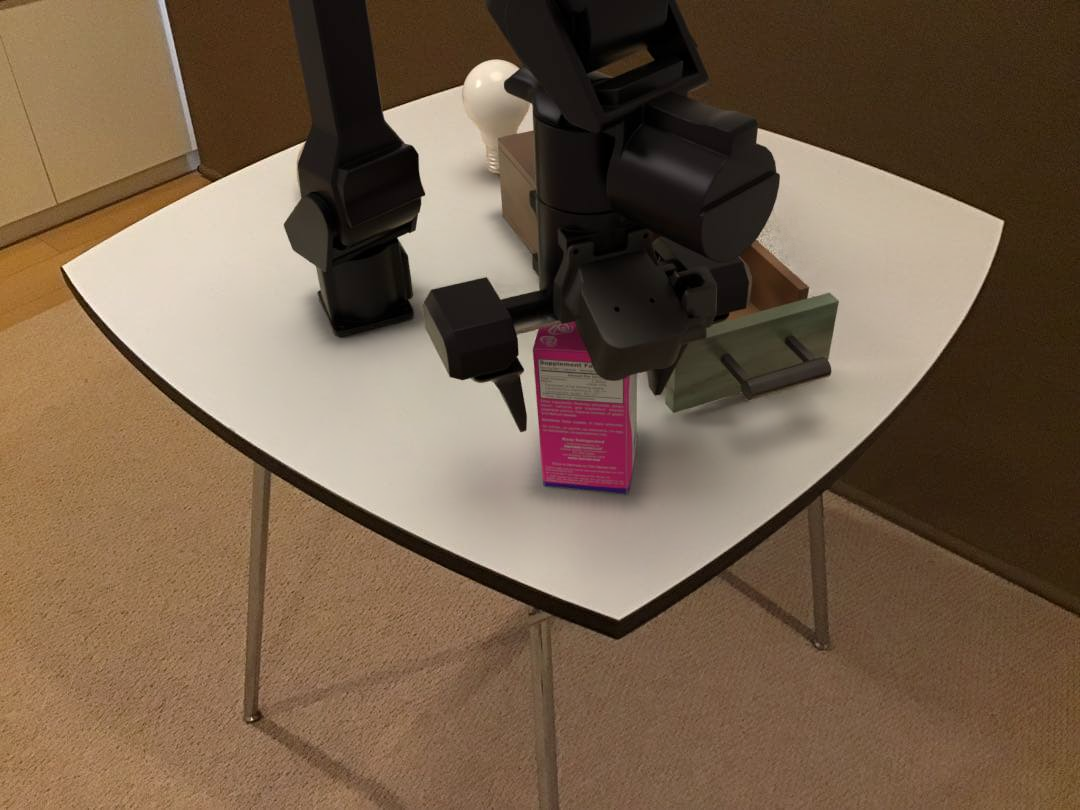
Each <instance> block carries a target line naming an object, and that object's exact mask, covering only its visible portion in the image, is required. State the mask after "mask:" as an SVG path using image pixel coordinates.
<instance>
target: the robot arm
mask: <svg viewBox="0 0 1080 810" xmlns="http://www.w3.org/2000/svg"><path fill="white" fill-rule="evenodd" d="M287 1H288V6H289V12H290V17H291V21H292V27H293V31H294V32H293V33H294V36H295V41H296V46H297V52H298V57H299V63H300V67H301V72H302V73H301V74H302V77H303V83H304V87H305V88H304V89H305V92H306V98H307V103H308V109H309V113H310V118H311V119H310V120H311V125H310V128H309V132H308V134H307V137H306V139H305V141H304V143H305V145H304V148H303V150H302V153H301V156H300V158H299V161H298V175H299V183H298V185H299V184H300V187H299V192H300V200H299V201H298V202H297V204H296V205H295V207H294V208H293V210H292V211H291V212H290V214H289V215H288V217H286V218H287V219H286V220H285V221H284V222H283V228H284V231H285V233H286V234H285V235H286V237H287V238H288V241H289V245H290V247H291V249H292V251H293V252H294V253H296V254H297V255H299V256H300V257H302V258H304V259H305V260H306V261H308V262H309V263H311V264H312V265H313V266H315V268H316V269H315V270H316V274H317V279H318V284H319V288H320V290H318V291H317V297H318V298H317V299H318V300H319V302H320V305H321V307H322V309H323V311H324V314H325V317H326V318H327V322H328V324H329V325H330V328H331V330H332V332H333V335H334V336H336V337H343V336H347V335H351V334H355V333H359V332H362V331H367V330H370V329H374V328H375V329H376V328H378V327H383V326H387V325H391V324H395V323H399V322H402V321H408V320H410V319H413V318H414V317H415V310H414V308H413V306H412V304H411V303H410V301H409V300H412V299H413V297H414V291H413V282H412V275H411V267H410V261H409V254H408V253H407V251H406V250H405V248H404V246H403V244H402V243H401V241H400V239H399V238H400V237H402V236H404V235H407V234H412V233H414V232H415V231H416V230H417V224H418V217H419V213H420V212H421V207H422V197H425V196H426V191H425V189H424V186H423V183H422V178H421V175H420V156H419V155H420V154H419V152H418V151H417V149H416V148H415V146H413V145H412V144H407V143H405V141H404V140H403V139H402V138H401V137H400V135H398V133H397V132H396V131H395V130H394V129H393V128H392V127H391V126H390V124H389V123H388V122H387V121H386V120H385V115H384V111H383V110H384V109H383V103H382V96H381V90H380V83H379V78H378V77H379V76H378V70H377V64H376V58H375V51H374V44H373V38H372V37H373V36H372V29H371V24H370V18H369V10H368V9H369V8H368V3H367V0H287ZM485 6H486V10H487V12H488V13H489V14H490V16H491V18H492V19H493V21H494V23H495V24H496V26H497V27H498V29H499V30H500V32H501V33H502V35H503V36H504V38H505V39H506V41H507V42H508V44H509V46H510V47H511V49H512V51H513V52H514V53H515V55H516V57H517V59H519V61H520V62H521V63H522V66H520V67H519V70H517V71H516V72H515V73H514V74H512V75H511V76H510V77H509V78H508V79H506V80H505V81H504V89H505V91H506V92H507V93H509V94H511V95H513V96H516V97H518V98H520V99H523V100H525V101H527V102H529V103H530V105H531V107H532V131H533V135H534V161H535V186H536V190H531V191H529V196H530V207H531V209H532V210H533V211H534V213H535V214H536V215H537V239H538V253H533V254H532V253H531V261H532V270H533V271H534V272H535V274H536V275H537V277H538V285H539V289H538V290H535V291H529V292H525V293H522V294H518V295H514V296H509V297H505V298H500V296H499V294H498V292H497V291H496V289H495V288H494V287H493V284H492V282H490V279H489V277H487V276H485V277H480V278H476V279H471V280H468V281H462V282H458V283H453V284H450V285H446V286H441V287H436V288H433V289H430V291H429V293H428V294H427V296H426V298H425V300H424V301H423V302H422V305H421V306H422V315H423V322H424V323H423V324H424V329H425V331H426V332H427V334H428V336H429V338H430V340H431V343H432V344H433V345H432V346H434V348H435V350H436V352H437V354H438V357H439V358H440V360H441V361H440V362H442V365H443V366H444V369H445V370H446V372H447V374H448V376H449V378H452V379H456V380H460V381H466V380H470V379H471V380H472V381H474V383H477V384H484V383H488V382H492V383H493V384H494V385H495V386H496V388H497V390H498V391H499V393H500V395H501V397H502V399H503V401H504V403H505V405H506V407H507V409H508V411H509V413H510V415H511V417H512V419H513V421H514V424H515V425H516V427H517V429H518V431H519V432H520V433H523V432H526V431H527V429H528V427H527V425H528V414H527V413H528V412H527V408H526V407H527V406H526V402H525V397H524V391H523V383H522V380H521V376H522V374H523V373H524V372H525V368H524V366H523V365H522V363H521V361H520V359H519V358H518V357H519V355H520V354H519V352H520V351H519V339H518V335H520V334H521V335H522V334H525V333H529V332H533V331H538V329H542V328H546V327H550V326H554V325H558V324H565V323H569V322H573V321H575V325H576V328H577V330H578V332H579V334H580V336H581V339H582V341H583V343H584V345H585V347H586V350H587V352H588V354H589V356H590V359H591V363H592V366H593V368H594V370H595V372H596V373H597V374H598V375H599V376H600V377H601V378H603V379H605V380H609V381H617V380H622V379H625V378H626V377H628V376H630V375H633V374H637V375H638V374H641V373H645V372H646V376H647V384H648V388H649V390H650V392H651V393H652V394H653V395H654V397H658V396H660V395H662V394H663V392H664V390H665V389H666V387H667V386H666V384H667V382H668V380H669V379H670V377H671V375H672V373H673V371H674V369H675V367H676V365H677V364H678V362H679V360H680V358H681V356H682V354H683V352H684V351H685V349H686V347H687V346H688V344H689V343H691V342H695V341H698V340H703V339H705V338H706V335H707V333H706V328H710V327H711V325H713V324H716V323H720V322H723V321H725V320H726V319H727V318H728V317H729V315H730V312H734V311H738V310H742V309H746V308H747V306H748V304H749V302H750V296H751V287H752V276H751V272H750V269H749V266H748V265H747V264H746V263H745V262H744V261H743V260H742V259H741V258H740V257H739V256H740V255H741V254H742V253H744V252H745V251H746V250H747V249H748V248H749V247H750V246H751V245H752V244H753V242H754V241H755V240H757V239H758V238H759V236H760V235H761V233H762V232H763V230H764V229H765V227H766V225H767V224H768V221H769V219H770V217H771V215H772V213H773V210H774V208H775V204H776V201H777V198H778V193H779V190H780V181H781V175H780V173H778V171H777V165H776V160H775V157H774V155H773V153H772V151H770V149H769V148H768V147H767V146H765V145H762V144H760V143H757V140H758V133H759V132H758V130H759V122H758V120H757V119H756V118H755V117H753V116H750V115H747V114H744V113H742V112H739V111H736V110H725V109H720V108H717V107H714V106H712V105H709V104H707V103H704V102H701V101H698V100H696V99H693V98H690V97H689V93H691V92H694V91H695V90H697V89H700V88H702V87H704V86H706V85H708V83H709V74H708V71H707V69H706V67H705V65H704V63H703V60H702V58H701V56H700V53H699V51H698V49H697V48H698V47H699V45H698V43H697V42H696V40H695V38H694V37H693V35H692V33H690V30H689V27H688V25H687V23H686V20H685V19H684V16H683V14H682V12H681V9H680V7H679V4H678V3H677V0H485ZM644 51H647V52H648V53H649V55H650V56H651V58H653V60H652V61H649V62H647V63H644V64H642V65H639V66H637V67H635V68H633V69H630V70H628V71H625V72H623V73H620V74H618V75H616V76H614V77H613V76H611V75H608V74H606V73H603V72H600V71H598V70H601V69H603V68H606V67H608V66H611V65H613V64H615V63H618V62H621V61H623V60H625V59H627V58H630V57H632V56H634V55H637V54H640V53H642V52H644ZM652 232H654V233H656V234H658V235H660V236H662V237H659V238H657V239H656V240H655V241H654V242H653V243H652Z"/></svg>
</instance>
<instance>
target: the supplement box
mask: <svg viewBox="0 0 1080 810" xmlns="http://www.w3.org/2000/svg"><path fill="white" fill-rule="evenodd" d="M532 356H533V357H532V358H533V369H534V383H535V397H536V409H537V423H538V435H539V436H538V437H539V450H540V461H541V475H542V485H543V487H548V488H549V487H550V488H561V489H570V490H571V489H572V490H583V491H592V492H593V491H594V492H601V493H602V492H603V493H610V494H620V495H628V494H629V493H630V489H631V485H632V480H633V473H634V466H635V461H636V451H637V447H638V445H637V444H638V422H637V421H638V414H637V413H638V406H637V405H638V378H637V377H638V373H637V374H633V375H630V376H628V377H626V378H625V379H622V380H617V381H609V380H605V379H603V378H601V377H600V376H599V375H598V374H597V373H596V372H595V370H594V368H593V366H592V363H591V359H590V356H589V354H588V352H587V350H586V347H585V345H584V343H583V341H582V339H581V336H580V334H579V332H578V330H577V328H576V325H575V321H573V322H569V323H565V324H558V325H554V326H550V327H546V328H542V329H538V330H537V333H536V336H535V341H534V343H533V347H532Z"/></svg>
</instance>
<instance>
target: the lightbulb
mask: <svg viewBox="0 0 1080 810" xmlns="http://www.w3.org/2000/svg"><path fill="white" fill-rule="evenodd" d="M519 69H520V67H518V66H517V65H515V64H514V63H512V62H510V61H507V60H504V59H489V60H485V61H483V62H481V63H479V64H477V65H476V66H475V67H473V68H472V69H471V70H470V72H469V73H467V76H466V78H465V80H464V82H463V85H462V91H461V98H462V105H463V107H464V110H465V113H466V114H467V116H468V117H469V119H470V121H471V122H473V124H474V125H475V126H476V128H477V129H478V131H479V134H480V136H481V141H482V143H483V144H484V145H485V153H486V162H487V163H486V165H487V167H486V168H487V170H488V171H489V172H491V173H493V174H495V175H498V176H500V169H499V153H498V138H499V137H504V136H509V135H514V134H518V131H519V127H520V126H521V124H522V122H523V121H524V119H525V118H526V116H527V114H528V112H529V109H530V106H531V103H529V102H527V101H525V100H523V99H520V98H518V97H516V96H513V95H511V94H509V93H507V92H506V91H505V89H504V81H505V80H506V79H508V78H509V77H510V76H511V75H512V74H514V73H515V72H516V71H517V70H519Z"/></svg>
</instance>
